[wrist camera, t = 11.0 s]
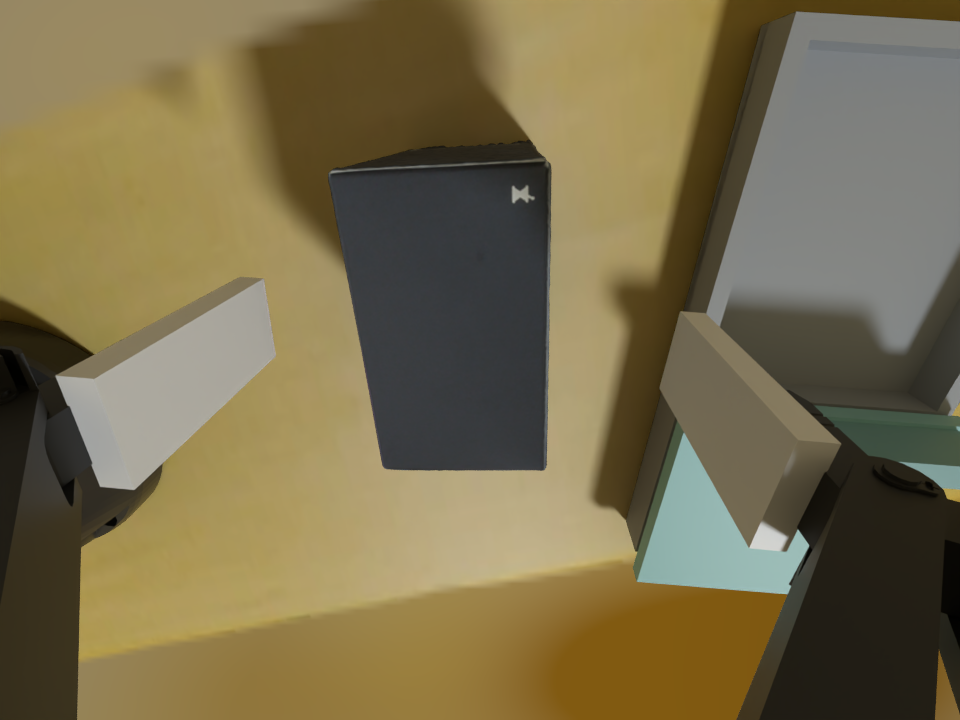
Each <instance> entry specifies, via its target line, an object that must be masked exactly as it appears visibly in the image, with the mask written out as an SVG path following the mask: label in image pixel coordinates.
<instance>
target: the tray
mask: <svg viewBox="0 0 960 720" xmlns="http://www.w3.org/2000/svg"><path fill="white" fill-rule="evenodd" d="M684 312H696V313H706V314H707V315H708V316H709V317H710V318H711V319H712V320H713V321H714V322H715V323H716V324H717V325H718V326H719V327H720V328H721V329H722V330H723V331H724V332H725V333H726V334H727V335H728V336H730V337H731V338H732V339H733V340H734V341H735V342H736V343H737V344H738V345H739V346H740V347H741V348H742V349H743V350H744V351H745V352H746V353H747V354H748V355H749V356H750V357H751V358H752V359H753V360H755V361H756V362H757V363H758V364H759V365H760V366H761V367H762V368H763V369H764V370H765V371H766V372H767V373H768V374H769V375H770V376H771V377H772V378H773V379H774V380H775V381H776V382H777V383H778V384H780V385H781V386H782V387H783V388H784V389H785V390H790V391H792V392H794V393H795V394H797V395H799V396H801V397H802V398H804V399H806V400H808V401H809V402H811V403H812V404H813V405H815V406H828V407H841V408H855V409H868V410H881V411H894V412H907V413H921V414H934V415H947V416H951V415H952V414H953V412H954V411H955V409H956V407H957V406H958V404H959V403H960V22H959V21H943V20H926V19H910V18H893V17H877V16H861V15H844V14H828V13H812V12H794V13H792V14H789V15H787V16H784V17H782V18H779V19H777V20H774V21H772V22H769V23H767V24H764V25H762V26H761V29H760V33H759V37H758V40H757V44H756V48H755V51H754V55H753V59H752V62H751V66H750V70H749V73H748V77H747V81H746V84H745V88H744V92H743V95H742V99H741V102H740V106H739V110H738V113H737V117H736V121H735V124H734V128H733V132H732V135H731V139H730V143H729V146H728V150H727V154H726V157H725V161H724V165H723V168H722V172H721V176H720V179H719V183H718V186H717V190H716V194H715V197H714V201H713V205H712V208H711V212H710V216H709V219H708V223H707V227H706V230H705V234H704V238H703V241H702V245H701V249H700V252H699V256H698V260H697V263H696V267H695V271H694V274H693V278H692V281H691V285H690V289H689V292H688V296H687V300H686V303H685V307H684ZM676 423H677V419H676V417H675V415H674V414H673V412H672V410H671V408H670V407H669V405H668V403H667V401H666V399H665V398H664V396H663V394H662V392H661V395H660V398H659V402H658V406H657V409H656V413H655V417H654V420H653V424H652V428H651V431H650V435H649V439H648V442H647V446H646V450H645V453H644V457H643V460H642V464H641V468H640V471H639V475H638V479H637V482H636V486H635V490H634V493H633V497H632V501H631V504H630V508H629V512H628V515H627V519H626V523H627V526H628V529H629V532H630V536H631V539H632V542H633V545H634V549H635V551H637V552H638V549H639V546H640V542H641V539H642V536H643V532H644V529H645V526H646V522H647V519H648V516H649V512H650V509H651V506H652V503H653V499H654V496H655V493H656V489H657V486H658V483H659V479H660V476H661V473H662V469H663V466H664V463H665V459H666V456H667V453H668V449H669V446H670V443H671V440H672V436H673V433H674V430H675V426H676Z"/></svg>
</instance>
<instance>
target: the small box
mask: <svg viewBox="0 0 960 720" xmlns="http://www.w3.org/2000/svg"><path fill="white" fill-rule="evenodd" d="M328 180H329V185H330V189H331V195H332V200H333V205H334V211H335V217H336V222H337V227H338V232H339V237H340V242H341V247H342V252H343V257H344V262H345V267H346V272H347V278H348V283H349V288H350V293H351V298H352V304H353V309H354V314H355V319H356V325H357V330H358V335H359V340H360V345H361V350H362V356H363V361H364V367H365V373H366V378H367V383H368V389H369V394H370V399H371V405H372V410H373V416H374V421H375V427H376V433H377V438H378V444H379V449H380V455H381V460H382V465H383V467H384V468H385V469H393V470H439V471H440V470H540V471H542V470H545V468H546V465H547V461H546V460H547V421H548V363H549V288H550V241H551V227H550V224H551V165H550V163H549V162H548V161H547V160H546V158H545V157H543V156H542V155H541V154H540V153H539V152H538V151H537V149H536V147H535V146H534V145H533V143H531V141H530V140H527V141H526V142H524V141H518V142H514V143H512V144H503V143H499V144H497V145H496V144H488V145H485V146H483V145H478V146H459V147H445V146H439V147H437V146H434V147H427V148H422V149H416V150H408V151H405V152H401V153H398V154H394V155H390V156H386V157H382V158H379V159H375V160H371V161H367V162H362V163H358V164H355V165H352V166H347V167H344V168H335V169H333V170H332V171H330V172H329V173H328Z"/></svg>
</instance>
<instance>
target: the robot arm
mask: <svg viewBox="0 0 960 720" xmlns="http://www.w3.org/2000/svg"><path fill="white" fill-rule="evenodd" d="M275 356H276V354H275V348H274V341H273V335H272V328H271V322H270V315H269V309H268V303H267V296H266V290H265V283H264V279H263V278H250V277H239V278H237V279H235V280H233V281H231V282H229V283H228V284H226V285H224V286H222V287H220V288H218V289H216V290H214V291H213V292H211V293H209V294H207V295H205V296H203V297H201V298H200V299H198V300H196V301H194V302H192V303H190V304H188V305H186V306H185V307H183V308H181V309H179V310H177V311H175V312H173V313H171V314H170V315H168V316H166V317H164V318H162V319H160V320H158V321H156V322H155V323H153V324H151V325H149V326H147V327H145V328H143V329H142V330H140V331H138V332H136V333H134V334H132V335H130V336H128V337H127V338H125V339H123V340H121V341H119V342H117V343H115V344H113V345H112V346H110V347H108V348H106V349H104V350H102V351H100V352H98V353H97V354H95V355H93V356H90V355H88V354H87V353H85V352H84V351H82V350H80V349H79V348H77V347H75V346H74V345H72V344H70V343H68V342H66V341H64V340H62V339H60V338H58V337H56V336H53V335H51V334H49V333H46V332H44V331H41V330H38V329H35V328H32V327H28V326H25V325H21V324H17V323H12V322H6V321H0V720H77V694H78V651H79V607H80V564H81V547H82V546H84V545H86V544H87V543H89V542H90V541H92V540H93V539H95V538H97V537H100V536H102V535H104V534H106V533H108V532H110V531H111V530H113V529H115V528H116V527H118V526H119V525H120V524H122V523H123V522H124V521H126V520H127V519H128V518H129V517H130V516H131V515H132V514H133V513H134V512H135V511H136V510H137V509H138V508H139V507H140V506H141V505H142V504H143V503H144V501H145V500H146V499H147V498H148V497H149V496H150V495H151V494H152V493H153V491H154V490H155V488H156V486H157V484H158V482H159V479H160V476H161V472H162V463H163V462H165V461H166V460H167V459H168V458H169V457H170V456H171V455H172V454H173V453H174V452H175V451H176V450H177V449H178V448H179V447H180V446H181V445H182V444H184V443H185V442H186V441H187V440H188V439H189V438H190V437H191V436H192V435H193V434H194V433H195V432H196V431H197V430H198V429H199V428H200V427H201V426H203V425H204V424H205V423H206V422H207V421H208V420H209V419H210V418H211V417H212V416H213V415H214V414H215V413H216V412H217V411H218V410H219V409H220V408H222V407H223V406H224V405H225V404H226V403H227V402H228V401H229V400H230V399H231V398H232V397H233V396H234V395H235V394H236V393H237V392H238V391H239V390H241V389H242V388H243V387H244V386H245V385H246V384H247V383H248V382H249V381H250V380H251V379H252V378H253V377H254V376H255V375H256V374H257V373H259V372H260V371H261V370H262V369H263V368H264V367H265V366H266V365H267V364H268V363H269V362H270V361H271V360H272V359H273V358H274V357H275ZM659 389H660V390H661V392H662V394H663V396H664V398H665V399H666V401H667V403H668V405H669V407H670V408H671V410H672V412H673V414H674V415H675V417H676V419H677V421H678V423H679V424H680V426H681V428H682V430H683V431H684V433H685V435H686V437H687V439H688V440H689V442H690V444H691V446H692V448H693V449H694V451H695V453H696V455H697V456H698V458H699V460H700V462H701V464H702V465H703V467H704V469H705V471H706V472H707V474H708V476H709V478H710V480H711V481H712V483H713V485H714V487H715V489H716V490H717V492H718V494H719V496H720V497H721V499H722V501H723V503H724V505H725V506H726V508H727V510H728V512H729V513H730V515H731V517H732V519H733V521H734V522H735V524H736V526H737V528H738V530H739V531H740V533H741V535H742V537H743V538H744V540H745V542H746V544H747V546H748V547H749V548H751V549H762V550H772V551H783V552H787V550H788V548H789V546H790V544H791V542H792V540H793V538H794V536H795V534H796V532H797V530H799V532H800V533H801V534H802V536H803V537H804V539H805V540H806V541H807V543H808V544H809V547H808V549H807V551H806V553H805V555H804V557H803V558H802V560H801V562H800V564H799V566H798V568H797V570H796V572H795V573H794V575H793V577H792V579H791V581H790V583H789V585H790V586H791V588H790V590H789V593H788V595H787V598H786V600H785V602H784V605H783V607H782V610H781V612H780V615H779V617H778V620H777V622H776V624H775V627H774V630H773V632H772V634H771V637H770V639H769V642H768V644H767V646H766V649H765V651H764V654H763V656H762V659H761V661H760V664H759V666H758V668H757V671H756V673H755V676H754V678H753V681H752V683H751V685H750V688H749V691H748V693H747V695H746V698H745V700H744V703H743V705H742V708H741V710H740V712H739V715H738V718H737V720H935V705H936V688H937V687H936V686H937V670H938V652H939V651H940V654H941V657H942V660H943V663H944V666H945V669H946V672H947V676H948V679H949V682H950V685H951V688H952V691H953V694H954V697H955V700H956V703H957V706H958V709H959V713H960V502H956V501H953V500H949V499H947V497H946V495H945V492H944V490H943V489H942V488H941V487H940V486H939V485H938V484H937V483H936V482H935V481H934V480H932V479H931V478H929V477H928V476H926V475H924V474H923V473H921V472H920V471H918V470H916V469H913V468H911V467H909V466H907V465H905V464H903V463H900V462H896V461H893V460H890V459H887V458H882V457H875V456H868V455H867V454H866V453H865V452H864V451H863V450H862V449H861V448H860V447H858V446H857V445H856V444H855V443H854V442H853V441H852V440H851V439H850V438H849V437H848V436H846V435H845V434H844V433H843V432H842V431H841V430H840V429H839V428H838V427H834V425H835V424H833V423H832V422H831V421H830V420H829V419H828V418H827V417H823V413H821V412H820V411H819V410H818V409H817V408H816V407H815V406H814V405H813V404H812V403H811V402H809V401H808V400H806V399H804V398H802V397H801V396H799V395H797V394H795V393H794V392H792V391H790V390H785V389H784V388H783V387H782V386H781V385H780V384H778V383H777V382H776V381H775V380H774V379H773V378H772V377H771V376H770V375H769V374H768V373H767V372H766V371H765V370H764V369H763V368H762V367H761V366H760V365H759V364H758V363H757V362H756V361H755V360H753V359H752V358H751V357H750V356H749V355H748V354H747V353H746V352H745V351H744V350H743V349H742V348H741V347H740V346H739V345H738V344H737V343H736V342H735V341H734V340H733V339H732V338H731V337H730V336H728V335H727V334H726V333H725V332H724V331H723V330H722V329H721V328H720V327H719V326H718V325H717V324H716V323H715V322H714V321H713V320H712V319H711V318H710V317H709V316H708V315H707V314H706V313H696V312H684V311H680V314H679V317H678V321H677V325H676V328H675V332H674V336H673V339H672V343H671V347H670V351H669V354H668V358H667V362H666V365H665V369H664V373H663V376H662V380H661V384H660V388H659Z"/></svg>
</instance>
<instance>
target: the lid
mask: <svg viewBox="0 0 960 720" xmlns="http://www.w3.org/2000/svg"><path fill="white" fill-rule="evenodd" d="M814 406H815V405H814ZM815 407H816V408H817V409H818V410H819V411H820V412H821V413H823V417H827V418H828V419H829V420H830V421H831V422H832V423H833V424H835V425H834V427H838V428H839V429H840V430H841V431H842V432H843V433H844V434H845V435H846V436H848V437H849V438H850V439H851V440H852V441H853V442H854V443H855V444H856V445H857V446H858V447H860V448H861V449H862V450H863V451H864V452H865V453H866V454H867V455H868V456H875V457H882V458H887V459H890V460H893V461H896V462H900V463H903V464H905V465H907V466H909V467H911V468H913V469H916V470H918V471H920V472H921V473H923V474H924V475H926V476H928V477H929V478H931V479H932V480H934V481H935V482H936V483H937V484H938V485H939V486H940V487H941V488H949V489H960V417H958V416H947V415H934V414H921V413H907V412H894V411H881V410H868V409H855V408H841V407H828V406H815ZM808 547H809V544H808V543H807V541H806V540H805V539H804V537H803V536H802V534H801V533H800V532H799V530H797V532H796V534H795V536H794V538H793V540H792V542H791V544H790V546H789V548H788V550H787V552H783V551H772V550H762V549H751V548H749V547H748V546H747V544H746V542H745V540H744V538H743V537H742V535H741V533H740V531H739V530H738V528H737V526H736V524H735V522H734V521H733V519H732V517H731V515H730V513H729V512H728V510H727V508H726V506H725V505H724V503H723V501H722V499H721V497H720V496H719V494H718V492H717V490H716V489H715V487H714V485H713V483H712V481H711V480H710V478H709V476H708V474H707V472H706V471H705V469H704V467H703V465H702V464H701V462H700V460H699V458H698V456H697V455H696V453H695V451H694V449H693V448H692V446H691V444H690V442H689V440H688V439H687V437H686V435H685V433H684V431H683V430H682V428H681V426H680V424H679V423H678V421H677V423H676V426H675V430H674V433H673V436H672V440H671V443H670V446H669V449H668V453H667V456H666V459H665V463H664V466H663V469H662V473H661V476H660V479H659V483H658V486H657V489H656V493H655V496H654V499H653V503H652V506H651V509H650V512H649V516H648V519H647V522H646V526H645V529H644V532H643V536H642V539H641V542H640V546H639V549H638V552H637V556H636V559H635V562H634V566H633V570H634V573H635V577H636V580H637V582H647V583H659V584H671V585H683V586H695V587H708V588H720V589H731V590H743V591H756V592H768V593H780V594H788V593H789V590H790V588H791V586H790V585H789V583H790V581H791V579H792V577H793V575H794V573H795V572H796V570H797V568H798V566H799V564H800V562H801V560H802V558H803V557H804V555H805V553H806V551H807V549H808Z"/></svg>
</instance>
